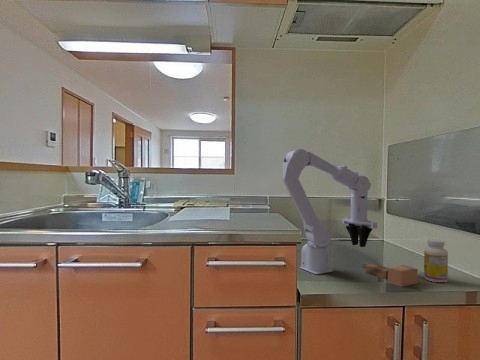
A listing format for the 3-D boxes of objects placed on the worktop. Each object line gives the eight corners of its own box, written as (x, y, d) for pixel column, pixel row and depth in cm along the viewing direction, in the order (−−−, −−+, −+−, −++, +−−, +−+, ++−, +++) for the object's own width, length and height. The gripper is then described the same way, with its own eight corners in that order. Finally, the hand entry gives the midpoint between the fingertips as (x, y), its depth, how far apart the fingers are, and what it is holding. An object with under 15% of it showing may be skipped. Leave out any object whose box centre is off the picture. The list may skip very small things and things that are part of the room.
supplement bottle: (426, 275, 112) (426, 237, 112) (449, 279, 108) (449, 240, 108) (422, 280, 107) (422, 240, 107) (446, 284, 103) (446, 243, 103)
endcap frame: (349, 269, 120) (349, 257, 120) (364, 266, 123) (364, 254, 123) (401, 286, 101) (401, 272, 101) (417, 283, 104) (417, 268, 104)
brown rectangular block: (365, 274, 115) (365, 265, 115) (373, 272, 117) (373, 263, 117) (386, 280, 108) (386, 271, 108) (393, 278, 110) (393, 269, 110)
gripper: (383, 209, 116) (383, 248, 116) (352, 206, 129) (351, 241, 129) (368, 210, 113) (368, 250, 113) (338, 207, 126) (338, 242, 126)
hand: (358, 245), depth 121 cm, fingers open, 3 cm apart
